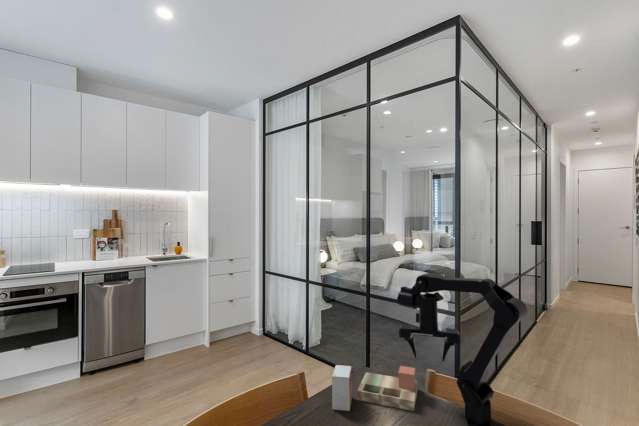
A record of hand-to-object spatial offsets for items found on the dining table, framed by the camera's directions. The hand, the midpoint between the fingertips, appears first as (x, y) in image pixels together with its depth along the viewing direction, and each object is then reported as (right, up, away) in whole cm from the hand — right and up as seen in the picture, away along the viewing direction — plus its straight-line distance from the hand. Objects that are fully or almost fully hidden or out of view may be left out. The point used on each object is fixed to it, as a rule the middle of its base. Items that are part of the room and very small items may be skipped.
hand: (429, 359), depth 106 cm
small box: (-29, -14, -2) cm, 32 cm away
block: (-7, -10, +3) cm, 12 cm away
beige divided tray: (-13, -13, +3) cm, 19 cm away
